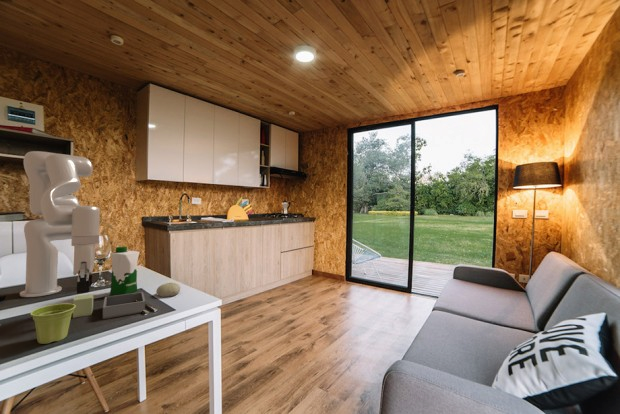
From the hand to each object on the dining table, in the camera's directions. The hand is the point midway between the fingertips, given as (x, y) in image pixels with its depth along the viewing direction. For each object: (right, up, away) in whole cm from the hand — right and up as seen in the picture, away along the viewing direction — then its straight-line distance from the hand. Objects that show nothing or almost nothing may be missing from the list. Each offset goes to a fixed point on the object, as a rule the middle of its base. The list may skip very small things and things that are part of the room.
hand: (84, 289), depth 94 cm
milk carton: (-2, -9, +23) cm, 25 cm away
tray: (+11, -9, +5) cm, 15 cm away
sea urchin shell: (+17, -10, +23) cm, 30 cm away
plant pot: (+5, -9, -17) cm, 20 cm away
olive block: (-1, -9, 0) cm, 9 cm away
